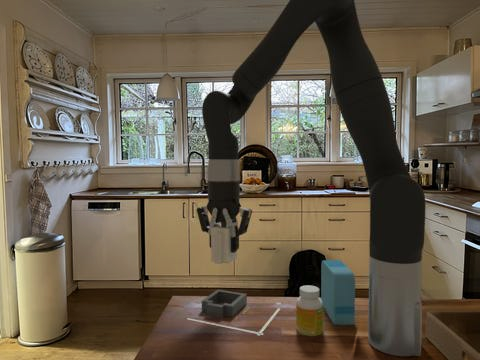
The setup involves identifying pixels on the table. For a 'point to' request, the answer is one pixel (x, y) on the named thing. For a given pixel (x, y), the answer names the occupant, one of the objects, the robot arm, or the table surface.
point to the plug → (221, 244)
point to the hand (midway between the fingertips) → (224, 250)
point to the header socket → (226, 309)
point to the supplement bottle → (309, 311)
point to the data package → (338, 292)
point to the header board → (241, 329)
